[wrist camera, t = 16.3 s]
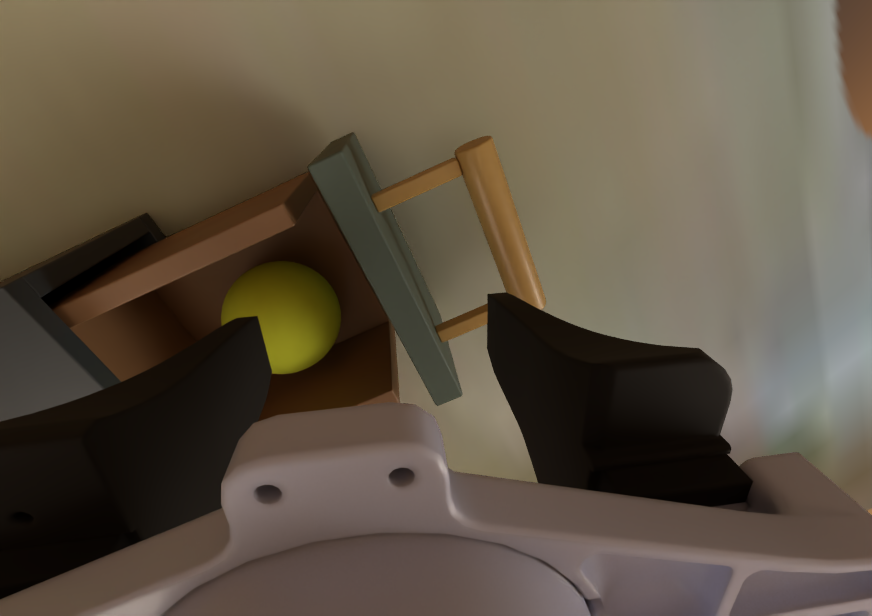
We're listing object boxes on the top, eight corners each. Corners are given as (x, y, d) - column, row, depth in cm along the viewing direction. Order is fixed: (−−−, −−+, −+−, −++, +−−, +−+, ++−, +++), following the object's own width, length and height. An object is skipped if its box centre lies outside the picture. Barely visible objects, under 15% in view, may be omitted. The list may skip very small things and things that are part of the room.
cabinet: (147, 212, 21) (1, 287, 13) (278, 387, 26) (233, 518, 18) (-87, 322, 22) (-360, 456, 14) (84, 469, 27) (-41, 629, 19)
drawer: (449, 86, 19) (485, 82, 13) (518, 281, 24) (571, 352, 17) (115, 243, 21) (-7, 312, 14) (243, 400, 25) (196, 506, 19)
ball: (361, 308, 23) (359, 371, 18) (275, 344, 23) (255, 413, 19) (310, 225, 20) (294, 277, 16) (215, 268, 20) (175, 329, 16)
